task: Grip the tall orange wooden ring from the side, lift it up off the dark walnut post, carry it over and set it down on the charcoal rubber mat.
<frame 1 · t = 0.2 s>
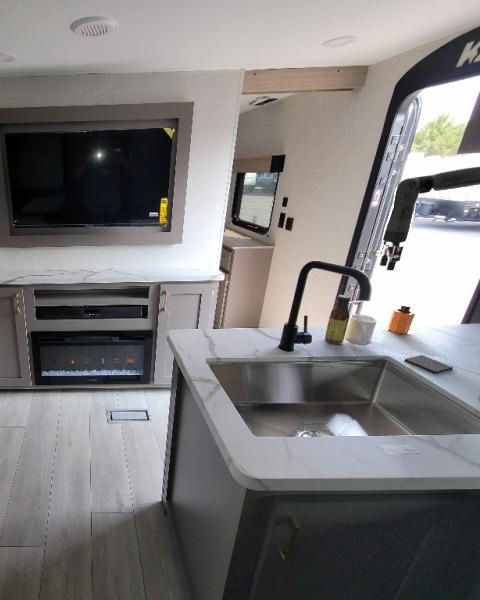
hand: (386, 267, 139), 27 cm above the worktop, tool pointing down, fingers open, 8 cm apart
sauce bottle: (332, 341, 136), on the worktop
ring: (397, 330, 140), point 1 cm above the worktop, touching stand
mug: (357, 343, 134), on the worktop
mat: (427, 364, 117), on the worktop
stand: (396, 332, 141), on the worktop
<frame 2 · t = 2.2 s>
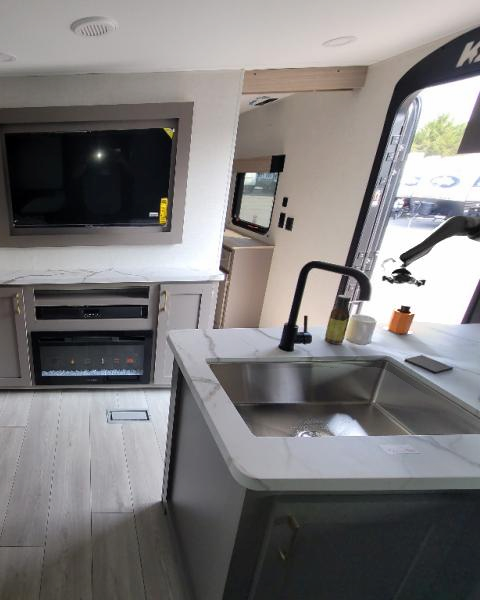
hand: (405, 283, 142), 20 cm above the worktop, tool horizontal, fingers open, 8 cm apart
nothing on the worktop moved.
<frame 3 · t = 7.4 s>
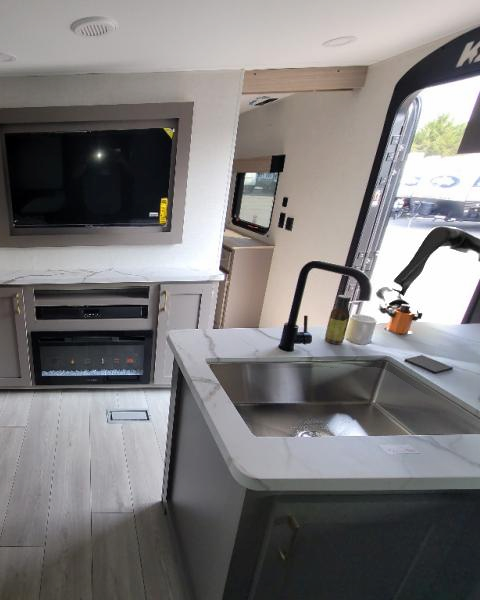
hand: (404, 317, 136), 8 cm above the worktop, tool horizontal, fingers closed on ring, 6 cm apart
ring: (397, 330, 140), point 1 cm above the worktop, touching gripper, stand
everything else where it was.
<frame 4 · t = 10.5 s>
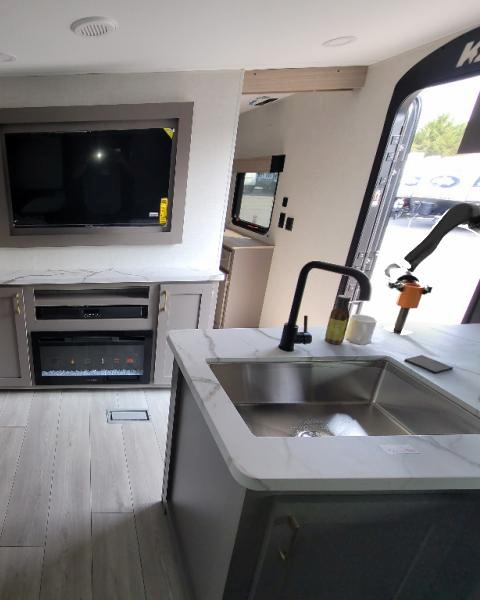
hand: (413, 291, 132), 20 cm above the worktop, tool horizontal, fingers closed on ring, 6 cm apart
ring: (406, 305, 136), point 13 cm above the worktop, touching gripper
everything else where it was.
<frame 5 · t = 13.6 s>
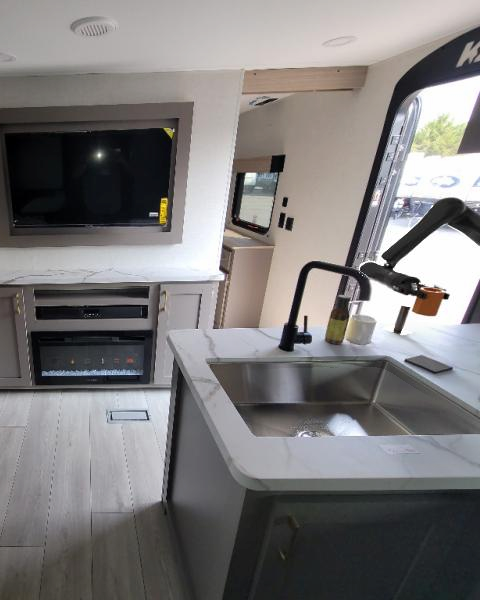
hand: (436, 296, 115), 24 cm above the worktop, tool horizontal, fingers closed on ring, 6 cm apart
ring: (423, 312, 119), point 17 cm above the worktop, touching gripper
everything else where it was.
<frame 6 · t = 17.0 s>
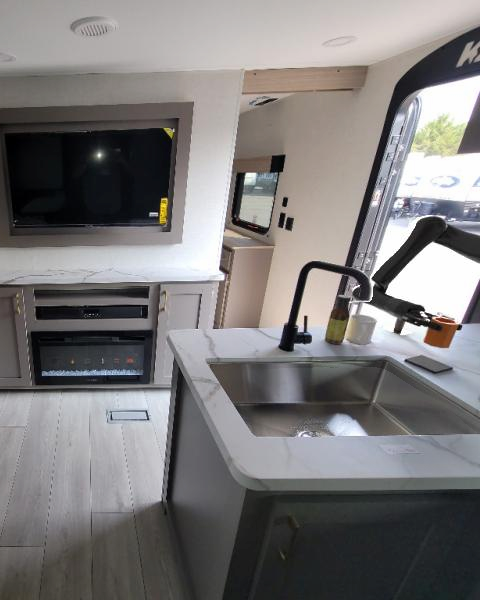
hand: (450, 328, 109), 16 cm above the worktop, tool horizontal, fingers closed on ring, 6 cm apart
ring: (435, 343, 114), point 9 cm above the worktop, touching gripper
everything else where it was.
when the fingers open (8 cm above the worktop, at t = 19.7 s): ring stays where it is, resting on mat.
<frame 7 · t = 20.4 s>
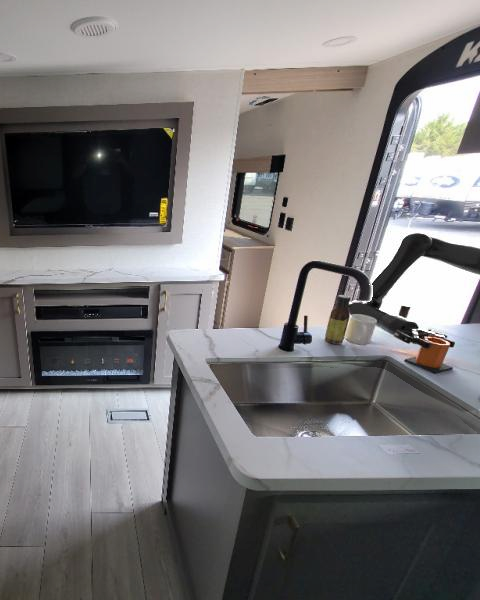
hand: (441, 345, 113), 9 cm above the worktop, tool horizontal, fingers open, 8 cm apart
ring: (428, 362, 117), point 1 cm above the worktop, touching mat
everything else where it was.
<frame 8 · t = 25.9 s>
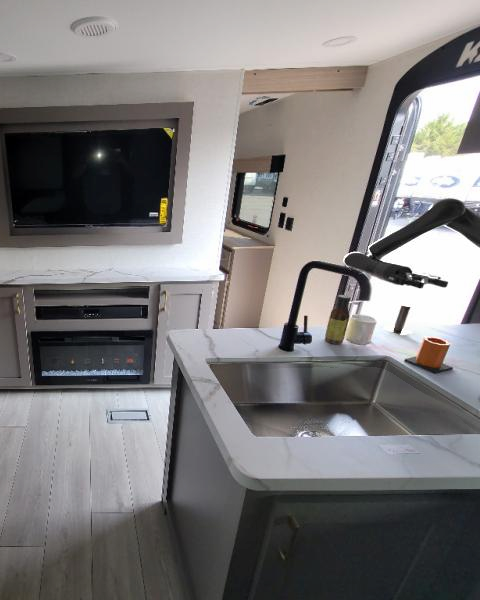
hand: (434, 285, 114), 28 cm above the worktop, tool horizontal, fingers open, 8 cm apart
nothing on the worktop moved.
at the end: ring inside the target area on the mat (0.1 cm from its centre), point 0.8 cm above the mat's base; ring tilted 0°; the gripper is holding nothing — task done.
